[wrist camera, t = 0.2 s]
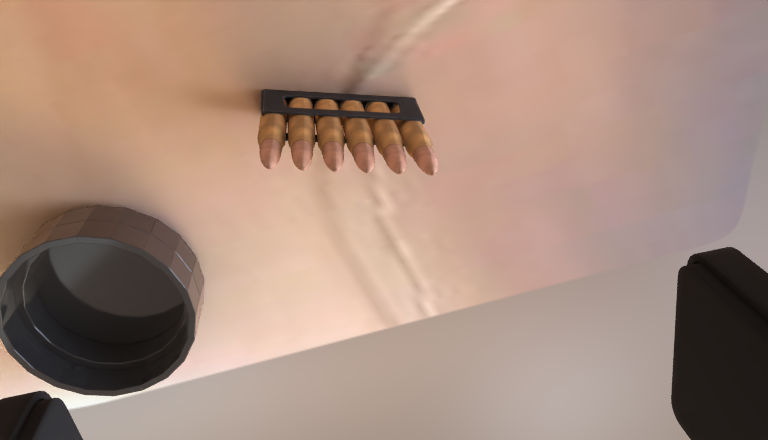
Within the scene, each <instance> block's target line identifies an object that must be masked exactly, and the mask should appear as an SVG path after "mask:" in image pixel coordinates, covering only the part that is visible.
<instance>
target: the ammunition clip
mask: <svg viewBox="0 0 768 440" xmlns="http://www.w3.org/2000/svg"><path fill="white" fill-rule="evenodd" d="M287 122H288V133H286V127H287ZM424 122H425V120H424V117H423V115H422V113H421V111H420V109H419V106H418V104H417V102H416V99H415V98H406V97H389V96H371V95H354V94H337V93H319V92H302V91H284V90H267V89H264V90H262V91H261V118H260V125H259V132H258V143H259V148H260V158H261V162H262V164H263V165H264V167H266V168H267V169H272V168H273V167H275V166H276V165H277V163H278V161H279V159H280V156H281V152H282V148H283V146H284V145H285V141H288V144H289V146H290V148H291V153H292V159H293V162H294V164H295V165H296V167H297V168H298V169H300V170H305V169H307V168H308V166H309V165H310V163H311V160H312V156H313V148H314V146H315V142H318V146H319V148H320V150H321V151H322V155H323V159H324V161H325V163H326V165H327V167H328V168H329V169H330V170H332V171H334V172H336V171H338V170H340V168H341V166H342V164H343V160H344V153H343V152H344V145H345V143H347V147H348V149H349V151H350V152H351V153H352V155H353V157H354V160H355V162H356V164H357V166H358V167H359V168H360V169H361V170H362V171H363V172H365V173H369V172H371V171H372V169H373V167H374V163H375V157H374V149H373V147H374V145H376V147H377V149H378V151H379V153H380V154H381V155H382V156H383V157H384V159H385V161H386V163H387V165H388V166H389V168H390V169H391V170H392V171H393V172H395V173H397V174H402V173H403V172H404V171H405V168H406V156H405V153H404V149H403V146H405V148H406V150H407V152H408V154H409V155H410V156H411V157H412V158H413V159H414V160H415V162H416V163H417V165H418V166H419V168H420V169H421V170H422V171H423V172H425V173H426V174H428V175H435V173H436V172H437V159H436V156H435V154H434V150H433V148H432V141H431V139H430V137H429V135H428V133H427V131H426V130H425V128H424V126H423V124H424ZM314 124H316V131H317V135H315V125H314ZM342 125H343V127H342ZM343 130H344V133H343ZM371 132H372V133H371ZM344 134H345V136H344ZM372 135H373V136H372Z"/></svg>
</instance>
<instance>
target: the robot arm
mask: <svg viewBox="0 0 768 440" xmlns="http://www.w3.org/2000/svg"><path fill="white" fill-rule="evenodd" d="M677 285H678V286H677V302H676V321H675V341H674V358H673V377H672V395H671V399H672V408H673V411H674V414H675V416H676V419H677V421H678V422H679V424H680V425H681V427H682V428H683V430H684V431H685V432H686V434H687V435H688V436H689V438H690V439H691V440H768V273H767V272H765V271H764V270H763V269H762V268H760V267H759V266H758V265H756V264H755V263H754V262H752V261H751V260H750V259H749V258H747V257H746V256H745V255H743V254H742V253H741V252H740V251H739V250H737V249H735V248H732V247H726V248H722V249H717V250H712V251H707V252H702V253H697V254H694V255H692V256H690V258H689V260H688V264H687V266H683V267H681V268H680V270H679V273H678V284H677ZM0 440H83V439H82V437H81V435H80V433H79V431H78V429H77V427H76V425H75V423H74V421H73V419H72V417H71V415H70V413H69V411H68V409H67V408H66V406H65V404H64V402H63V401H62V400H61V399H59V398H51V397H50V395H49V394H47V393H46V392H45V391H37V392H32V393H27V394H23V395H18V396H13V397H8V398H3V399H1V400H0Z"/></svg>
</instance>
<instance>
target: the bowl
mask: <svg viewBox="0 0 768 440" xmlns="http://www.w3.org/2000/svg"><path fill="white" fill-rule="evenodd" d="M203 298H204V278H203V275H202V272H201V269H200V266H199V263H198V260H197V257H196V256H195V254H194V253H193V252H192V250H191V249H190V248H189V246H188V245H187V244H186V243H185V241H184V240H183V239H182V237H181V236H180V235H179V234H178V233H176V232H175V231H173V230H172V229H170V228H169V227H168V226H166V225H165V224H163V223H162V222H161V221H159V220H158V219H156V218H153V217H150V216H148V215H145V214H142V213H139V212H137V211H134V210H131V209H128V208H121V207H110V206H91V207H86V208H81V209H76V210H71V211H68V212H65V213H63V214H61V215H60V216H58V217H56V218H54V219H52V220H50V221H49V222H47V223H45V224H44V225H42V226H41V227H40V228H39V230H38V231H37V232H36V233H35V234H34V235H33V237H32V238H31V239H30V240H29V241H28V242H27V244H26V245H25V246H24V247H23V249H22V250H21V251H20V252H19V254H18V255H17V256H16V258H15V259H14V260H13V261H12V263H11V264H10V265H9V266H8V268H7V269H6V270H5V271H4V273H3V274H2V275H1V277H0V338H1V340H2V342H3V344H4V346H5V348H6V349H7V351H8V353H9V354H10V355H11V356H12V357H13V358H14V359H16V360H17V361H18V362H19V363H20V364H21V365H22V366H23V367H24V368H25V369H26V370H27V371H28V372H29V373H31V374H33V375H35V376H36V377H38V378H40V379H42V380H44V381H45V382H47V383H49V384H51V385H53V386H56V387H58V388H61V389H65V390H68V391H72V392H76V393H79V394H83V395H99V396H117V395H122V394H127V393H132V392H137V391H142V390H144V389H146V388H148V387H150V386H152V385H154V384H156V383H158V382H160V381H162V380H164V379H166V378H168V377H169V376H170V375H171V374H172V373H173V372H174V371H175V370H176V369H177V368H178V367H179V366H180V365H181V364H182V363H183V362H184V361H185V359H186V357H187V355H188V353H189V351H190V348H191V346H192V344H193V342H194V340H195V336H196V332H197V327H198V323H199V319H200V314H201V310H202V306H203Z"/></svg>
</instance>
